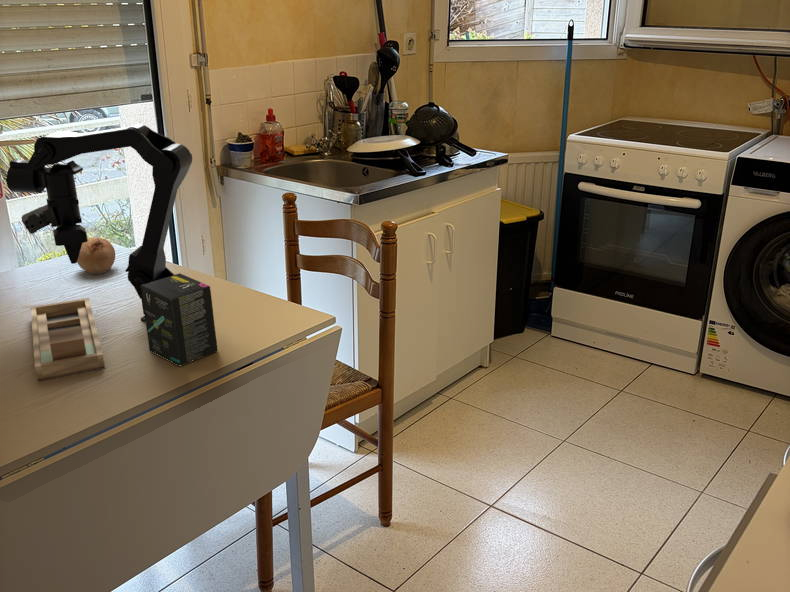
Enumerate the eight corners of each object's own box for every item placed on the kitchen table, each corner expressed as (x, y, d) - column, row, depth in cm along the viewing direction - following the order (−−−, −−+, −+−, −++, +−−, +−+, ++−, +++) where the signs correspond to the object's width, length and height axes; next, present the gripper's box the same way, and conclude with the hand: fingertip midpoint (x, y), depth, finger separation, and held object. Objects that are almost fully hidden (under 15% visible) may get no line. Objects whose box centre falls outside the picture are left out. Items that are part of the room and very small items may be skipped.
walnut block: (87, 359, 151) (83, 338, 149) (54, 365, 148) (49, 344, 147) (84, 346, 156) (81, 326, 154) (52, 352, 154) (48, 331, 152)
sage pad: (98, 364, 151) (97, 359, 151) (43, 375, 147) (41, 369, 147) (94, 347, 158) (93, 342, 157) (41, 357, 154) (40, 352, 154)
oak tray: (105, 368, 151) (102, 354, 150) (37, 380, 146) (35, 366, 145) (90, 310, 176) (88, 297, 175) (33, 319, 171) (30, 306, 170)
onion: (107, 286, 197) (108, 258, 190) (70, 276, 196) (69, 248, 189) (120, 261, 204) (121, 233, 197) (84, 252, 202) (83, 223, 195)
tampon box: (218, 352, 157) (212, 285, 151) (179, 368, 151) (171, 299, 145) (187, 335, 164) (179, 271, 158) (148, 350, 158) (139, 284, 152)
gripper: (18, 187, 168) (32, 255, 174) (21, 210, 152) (35, 283, 159) (73, 181, 172) (84, 247, 178) (81, 203, 157) (93, 275, 163)
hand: (73, 263), depth 170 cm, fingers closed
